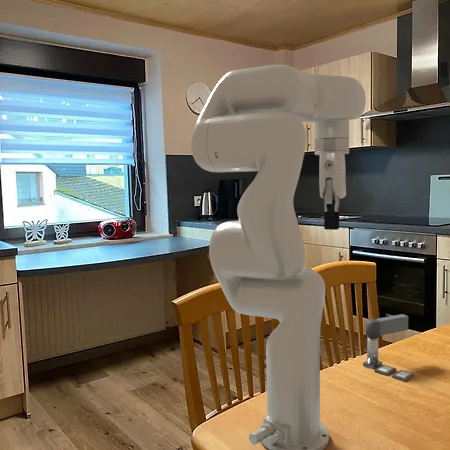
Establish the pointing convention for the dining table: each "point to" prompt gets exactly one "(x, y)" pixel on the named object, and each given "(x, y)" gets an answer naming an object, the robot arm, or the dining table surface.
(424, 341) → the dining table surface
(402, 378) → the label plate
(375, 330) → the swing bar
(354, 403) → the dining table surface
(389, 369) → the label plate
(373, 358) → the bar post
